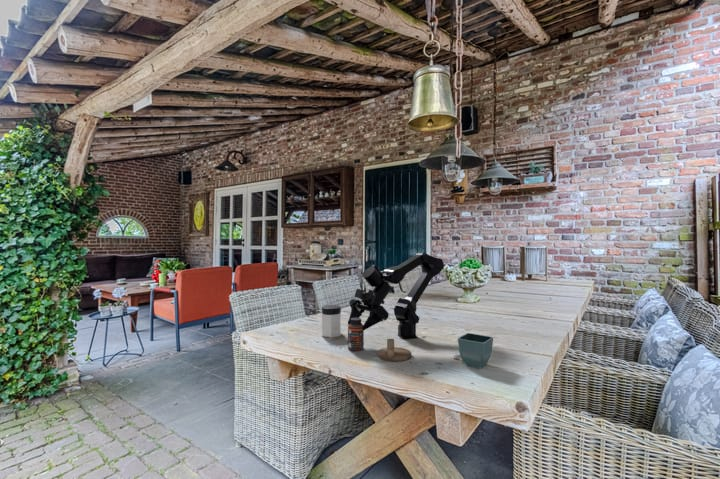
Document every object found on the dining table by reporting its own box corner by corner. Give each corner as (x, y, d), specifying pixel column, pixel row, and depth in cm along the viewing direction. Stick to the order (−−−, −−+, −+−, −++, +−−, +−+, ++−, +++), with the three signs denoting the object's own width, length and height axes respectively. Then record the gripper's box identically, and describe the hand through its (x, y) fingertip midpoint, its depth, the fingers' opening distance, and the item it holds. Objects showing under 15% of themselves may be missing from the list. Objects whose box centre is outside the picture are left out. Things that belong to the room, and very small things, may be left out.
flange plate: (382, 348, 129) (382, 329, 129) (414, 351, 125) (414, 332, 125) (372, 359, 117) (372, 339, 117) (407, 363, 114) (407, 342, 114)
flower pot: (467, 358, 119) (467, 332, 118) (493, 364, 113) (493, 336, 113) (457, 365, 112) (457, 338, 112) (484, 372, 106) (484, 343, 106)
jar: (326, 338, 142) (326, 309, 142) (317, 334, 149) (317, 306, 149) (345, 335, 147) (345, 307, 147) (335, 331, 154) (335, 304, 154)
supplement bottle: (349, 352, 125) (349, 321, 125) (346, 347, 131) (346, 317, 131) (365, 350, 127) (365, 319, 127) (361, 345, 133) (361, 316, 133)
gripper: (352, 278, 140) (329, 309, 133) (382, 283, 125) (357, 318, 118) (368, 296, 144) (346, 326, 138) (398, 303, 129) (375, 337, 123)
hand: (355, 326), depth 129 cm, fingers open, 9 cm apart
